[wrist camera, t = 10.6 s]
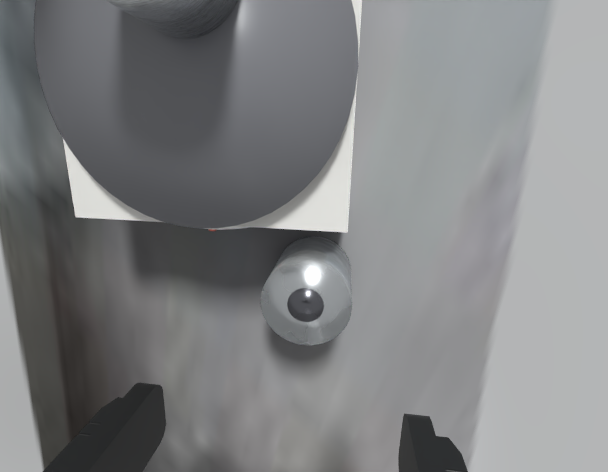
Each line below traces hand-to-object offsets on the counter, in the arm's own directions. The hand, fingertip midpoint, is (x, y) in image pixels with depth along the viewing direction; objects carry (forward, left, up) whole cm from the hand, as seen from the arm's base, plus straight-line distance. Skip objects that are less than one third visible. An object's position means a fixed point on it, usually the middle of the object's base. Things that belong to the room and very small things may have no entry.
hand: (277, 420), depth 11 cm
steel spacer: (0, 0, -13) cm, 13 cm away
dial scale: (-12, -5, -13) cm, 18 cm away
